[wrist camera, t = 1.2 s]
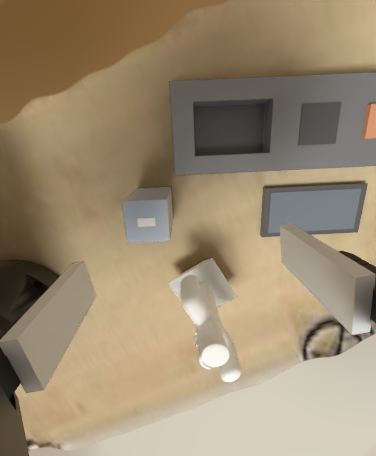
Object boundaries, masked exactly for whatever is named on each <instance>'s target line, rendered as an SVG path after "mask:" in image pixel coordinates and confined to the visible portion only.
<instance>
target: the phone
mask: <svg viewBox="0 0 376 456" xmlns="http://www.w3.org/2000/svg"><path fill="white" fill-rule="evenodd" d="M367 185H368V184H367V183H350V184H330V185H309V186H288V187H267V188H263V201H262V217H261V234H260V235H261V236H262V237H272V236H280V225H285V224H290V223H292V224H293V225H295V226H297V227H298V228H300V229H302V230H303V231H305V232H307V233H308V234H310V235H311V234H331V233H351V232H358V229H359V224H360V219H361V214H362V209H363V204H364V199H365V194H366V190H367Z"/></svg>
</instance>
